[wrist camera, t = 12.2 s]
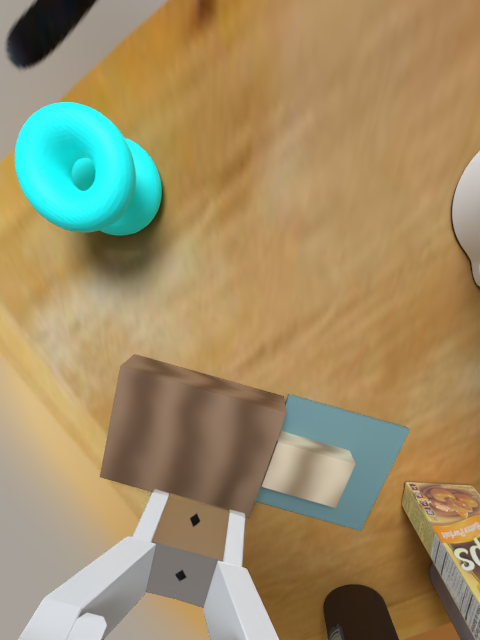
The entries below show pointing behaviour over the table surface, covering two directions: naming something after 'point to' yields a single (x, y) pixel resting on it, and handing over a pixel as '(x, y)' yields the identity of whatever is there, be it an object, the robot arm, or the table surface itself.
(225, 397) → the walnut board
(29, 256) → the table surface
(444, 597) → the pillar candle
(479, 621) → the candy box
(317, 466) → the cream block
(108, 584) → the robot arm
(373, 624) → the olive oil
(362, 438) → the teal mat
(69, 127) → the donuts
